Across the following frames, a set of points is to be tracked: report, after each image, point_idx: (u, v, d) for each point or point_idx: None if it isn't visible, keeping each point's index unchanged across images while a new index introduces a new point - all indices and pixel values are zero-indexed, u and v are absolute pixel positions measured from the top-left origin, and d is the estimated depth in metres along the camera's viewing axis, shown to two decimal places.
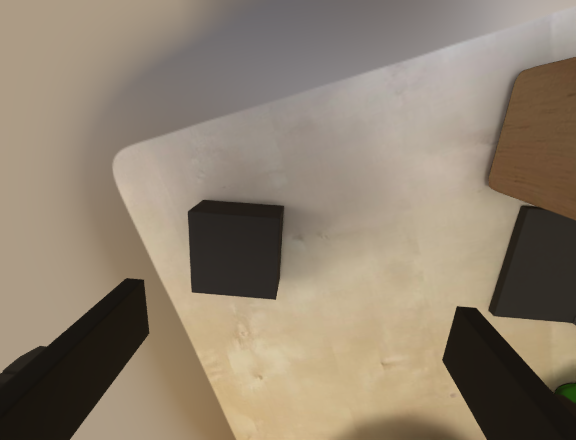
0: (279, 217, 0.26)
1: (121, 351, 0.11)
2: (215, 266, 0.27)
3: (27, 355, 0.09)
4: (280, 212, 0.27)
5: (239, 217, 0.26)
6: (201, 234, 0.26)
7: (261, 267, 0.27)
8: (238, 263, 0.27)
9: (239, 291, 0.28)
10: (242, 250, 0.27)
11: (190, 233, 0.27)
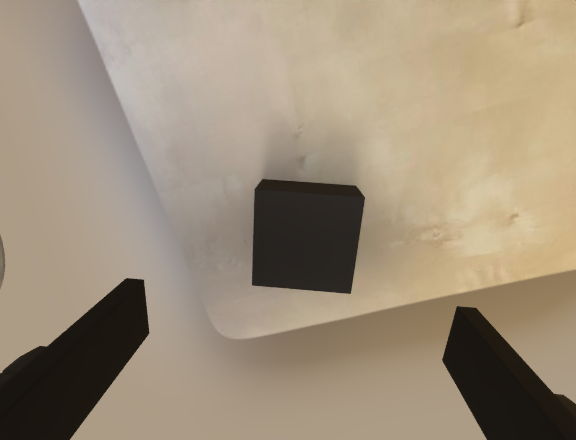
0: (255, 189, 0.22)
1: (121, 351, 0.11)
2: (316, 264, 0.24)
3: (27, 355, 0.09)
4: (258, 185, 0.24)
5: (255, 233, 0.23)
6: (277, 275, 0.24)
7: (318, 212, 0.22)
8: (313, 239, 0.23)
9: (351, 241, 0.23)
10: (295, 233, 0.23)
11: (276, 285, 0.24)
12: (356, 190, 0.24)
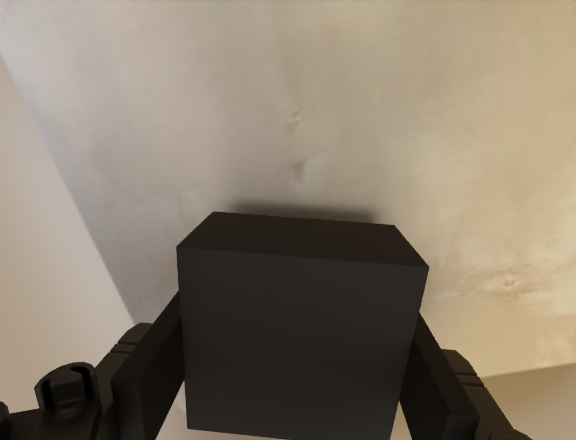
0: None
1: None
2: (317, 397, 0.11)
3: (133, 330, 0.11)
4: None
5: (186, 336, 0.11)
6: (237, 413, 0.12)
7: (320, 297, 0.10)
8: (310, 351, 0.11)
9: (394, 356, 0.10)
10: (271, 337, 0.10)
11: (236, 431, 0.12)
12: (400, 240, 0.11)
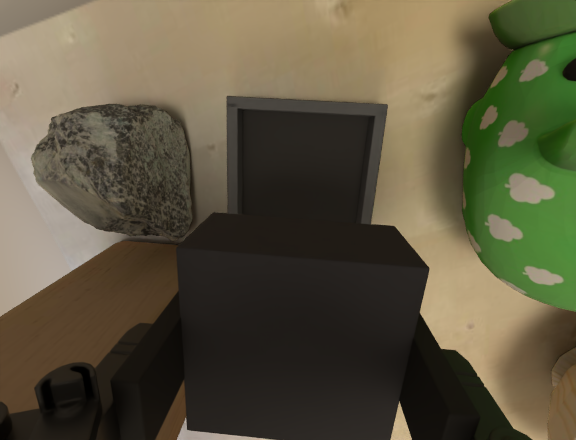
0: None
1: None
2: (317, 398, 0.11)
3: (132, 330, 0.11)
4: None
5: (186, 337, 0.11)
6: (237, 414, 0.12)
7: (320, 299, 0.10)
8: (310, 352, 0.11)
9: (394, 357, 0.10)
10: (271, 338, 0.10)
11: (236, 433, 0.12)
12: (400, 241, 0.11)
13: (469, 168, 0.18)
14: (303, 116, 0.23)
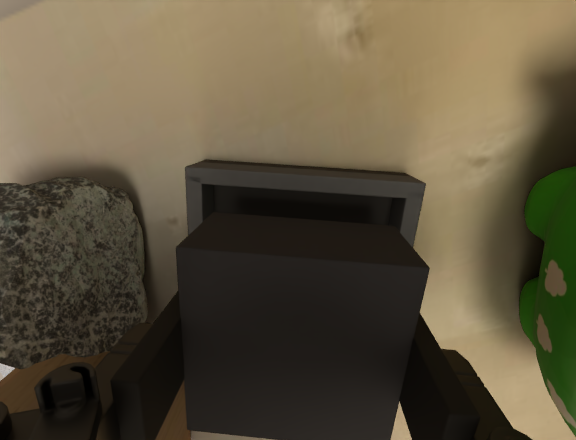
0: None
1: None
2: (317, 398, 0.11)
3: (132, 330, 0.11)
4: None
5: (185, 337, 0.11)
6: (237, 414, 0.12)
7: (320, 299, 0.10)
8: (310, 352, 0.10)
9: (394, 357, 0.10)
10: (270, 338, 0.10)
11: (236, 433, 0.12)
12: (401, 241, 0.11)
13: (564, 304, 0.11)
14: None
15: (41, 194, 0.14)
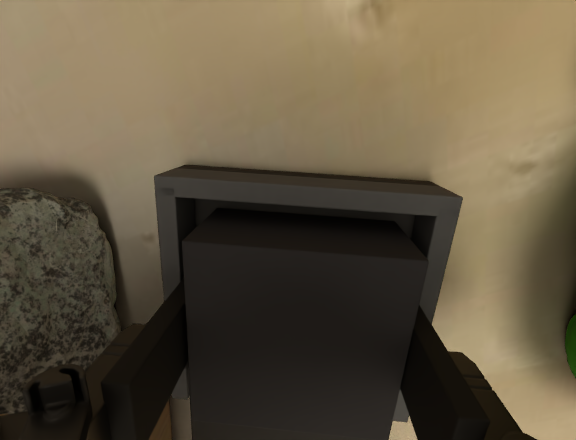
0: None
1: None
2: (319, 389, 0.11)
3: (126, 331, 0.11)
4: None
5: (191, 329, 0.11)
6: (240, 405, 0.12)
7: (322, 291, 0.10)
8: (312, 343, 0.11)
9: (394, 348, 0.11)
10: (274, 330, 0.11)
11: (240, 423, 0.12)
12: (401, 235, 0.12)
13: None
14: None
15: None
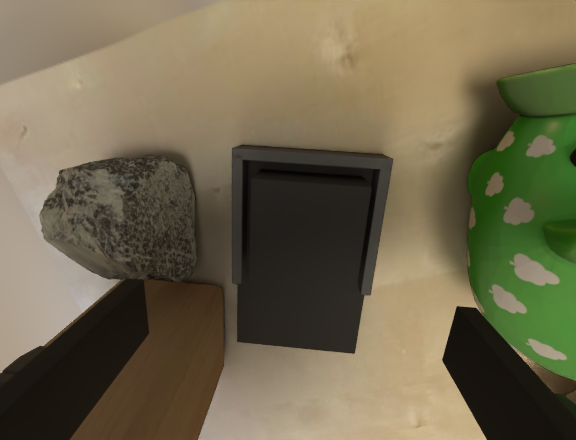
0: None
1: (121, 351, 0.11)
2: (318, 261, 0.22)
3: (27, 355, 0.09)
4: None
5: (252, 227, 0.21)
6: (276, 272, 0.22)
7: (320, 204, 0.20)
8: (315, 233, 0.21)
9: (357, 235, 0.21)
10: (295, 226, 0.21)
11: (275, 284, 0.22)
12: (362, 180, 0.22)
13: (474, 231, 0.18)
14: (308, 164, 0.23)
15: (140, 165, 0.21)
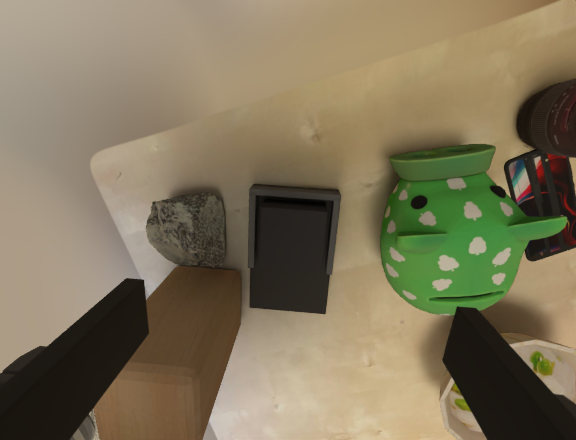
0: (261, 207, 0.36)
1: (121, 351, 0.11)
2: (299, 253, 0.38)
3: (27, 355, 0.09)
4: (262, 204, 0.38)
5: (261, 233, 0.37)
6: (275, 260, 0.38)
7: (299, 221, 0.36)
8: (297, 237, 0.37)
9: (320, 238, 0.37)
10: (286, 233, 0.37)
11: (274, 267, 0.38)
12: (324, 206, 0.38)
13: (380, 236, 0.35)
14: None
15: (198, 199, 0.37)
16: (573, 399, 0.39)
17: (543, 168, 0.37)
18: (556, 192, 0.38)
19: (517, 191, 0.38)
